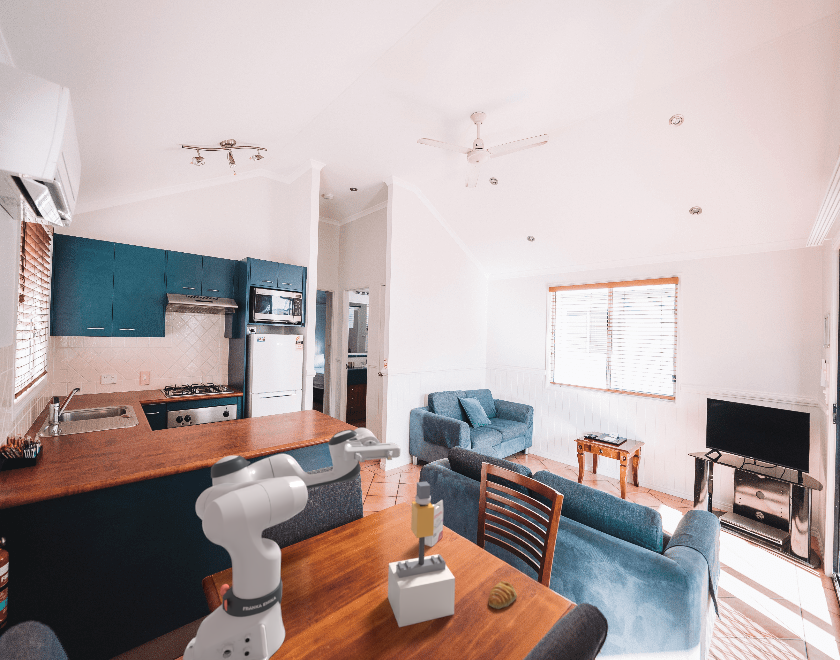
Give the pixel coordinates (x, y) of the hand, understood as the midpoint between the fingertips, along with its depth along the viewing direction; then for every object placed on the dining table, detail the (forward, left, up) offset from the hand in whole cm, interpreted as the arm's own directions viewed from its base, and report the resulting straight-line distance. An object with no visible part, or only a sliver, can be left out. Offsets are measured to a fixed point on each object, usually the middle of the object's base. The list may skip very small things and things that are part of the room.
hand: (376, 458), depth 128 cm
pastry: (+27, -33, -36) cm, 56 cm away
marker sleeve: (+4, -24, -15) cm, 29 cm away
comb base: (+4, -24, -35) cm, 43 cm away
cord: (+4, -24, -25) cm, 35 cm away
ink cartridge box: (+25, +4, -36) cm, 44 cm away
